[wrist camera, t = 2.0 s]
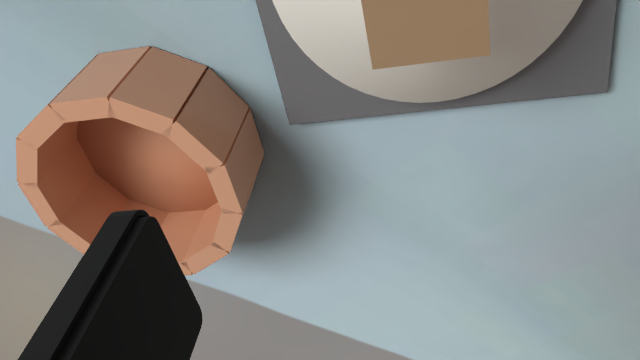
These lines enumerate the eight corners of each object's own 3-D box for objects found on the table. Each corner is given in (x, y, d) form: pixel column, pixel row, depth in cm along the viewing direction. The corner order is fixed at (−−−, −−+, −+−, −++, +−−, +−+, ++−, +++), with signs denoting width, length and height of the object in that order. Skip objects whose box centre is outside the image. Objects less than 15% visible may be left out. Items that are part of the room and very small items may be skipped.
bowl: (227, 34, 27) (195, 85, 23) (282, 209, 34) (264, 271, 30) (30, 63, 30) (-29, 113, 26) (116, 220, 36) (79, 279, 32)
